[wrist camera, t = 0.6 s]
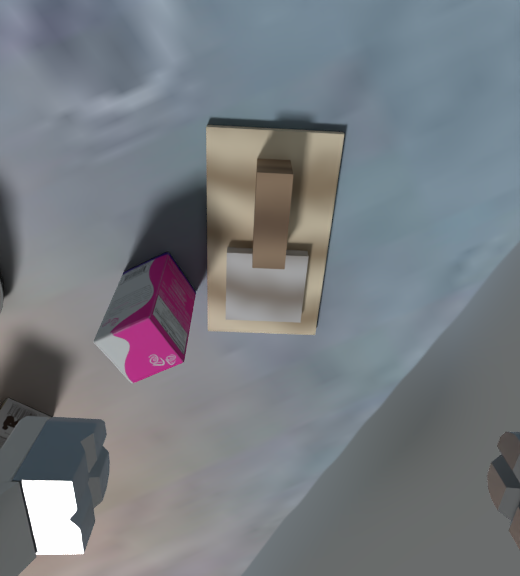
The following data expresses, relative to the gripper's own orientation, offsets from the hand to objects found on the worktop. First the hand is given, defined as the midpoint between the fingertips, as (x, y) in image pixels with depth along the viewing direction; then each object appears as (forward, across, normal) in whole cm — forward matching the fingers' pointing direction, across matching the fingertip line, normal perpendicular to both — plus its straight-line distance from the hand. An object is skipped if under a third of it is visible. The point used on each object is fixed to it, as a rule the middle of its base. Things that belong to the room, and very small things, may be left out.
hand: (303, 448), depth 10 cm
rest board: (+37, -1, +8) cm, 38 cm away
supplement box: (+38, +10, +14) cm, 42 cm away
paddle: (+36, -1, +9) cm, 37 cm away
